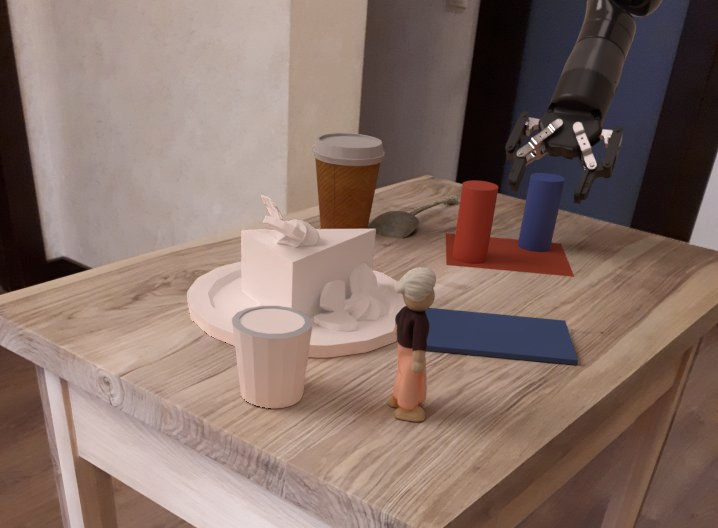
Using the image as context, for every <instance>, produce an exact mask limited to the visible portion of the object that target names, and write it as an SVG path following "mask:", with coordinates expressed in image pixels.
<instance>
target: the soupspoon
mask: <svg viewBox="0 0 718 528" xmlns="http://www.w3.org/2000/svg"><path fill="white" fill-rule="evenodd" d="M458 204H459V198H458V196H457V195H450V196H449V197H445V198H443V199H441V200H437V201H434V202H431V203H428V204H426V205H423V206H421V207H418V208H416V209H414V210H412V211H410V212H408V211H404V210H389V211H387V212H383V213H381V214H379V215H377V216H375V217H374V218H373V219H372V221H371V222H370V224H369V229H376V232H375V235H379V236H382V237H387V238H394V239H405V238H407V237H408V236H410V235H411V234H413V232H415V230H416V229H417V228H418V227H419V224H420V219H419V218H418V217H417V216H416V215H419V214H420V213H422V212H424V211H426V210H428V209H431V208H434V207H436V206H439V205H445V206H446V205H458Z"/></svg>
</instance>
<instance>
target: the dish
mask: <svg viewBox="0 0 718 528" xmlns="http://www.w3.org/2000/svg"><path fill="white" fill-rule="evenodd" d="M260 199H261V200H262V202H263V204H264V206H265V208H266V209H267V212H268V213H269V215H265V217H264V219H263V220H262V224H264V225H266V226H268V227H269V228H267V229H266V228H265V229H264V228H263V229H258V228H257V229H249V228H248V229H246V228H245V229H243V228H242V229H240V254H241V255H240V260H241V261H237V262H233V263H229V264H225V265H220V266H218V267H215V268H214V269H212V270H210V271H207V272H206V273H204V274H202V275H200V276H198V277H197V278H196V279H195V281H194V282H193V283H192V284H191V286H190V287H188V290H187V291H186V301H187V302H186V303H188V304H187V309H188V308H189V309H188V314H189V313H190V314H189V317H190V318H191V319H190V321H191V320H192V321H191V322H193V321H194V322H195V323H196V324H197V325H198V326H199V327H200V328H199V327H198V326H197V325H196V324H195V323H194V322H193V323H194V324H195V325H196V326H197V327H198V328H199V329H201V330H202V331H203V332H204V331H205V332H206V333H207V334H206V333H205V332H204V333H205V334H206V335H207V336H208V337H211V336H212V337H211V338H213V337H214V338H213V339H216V340H218V341H220V342H223V343H225V342H226V344H228V345H231V346H232V347H235V341H234V333H233V324H232V318H233V317H234V316H235V314H236V313H238V312H240V311H242V310H245V309H247V308H252V307H257V306H281V307H288V308H293V309H295V310H298V311H301V312H303V313H305V314H306V315H307V316H309V317H310V318H311V321H312V324H313V325H312V332H311V340H310V347H309V354H308V358H312V359H315V358H316V359H329V358H330V359H331V358H336V357H345V356H350V355H357V354H365V353H369V352H372V351H374V350H377V349H380V348H383V347H386V346H388V345H391V344H393V343H396V342H397V336H396V335H395V334H394V327H395V317H396V315H397V313H398V312H399V311H400V310H401V309H402V308H403V307H405V306H406V305H405V303H404V299H403V294H402V293H399V294H398V293H396V291H395V289H394V288H395V286H396V284H397V283H398V282H399V281H397V280H396V279H394V278H392V277H390V276H389V275H387V274H385V273H383V272H381V271H378V270H375V269H373V267H374V258H375V257H374V255H375V244H376V233H375V232H376V229H370V228H368V229H321V228H315V227H314V226H313V225H311V224H310V223H309V222H307V221H306V220H303V219H300V218H299V219H296V218H292V219H289V220H283V219H284V218H283V215H282V213H281V211H280V210H279V208H278V206H277V204H276V203H275V202H274V200H273V199H272V198H270V197H269V196H267V195H265V194H261V195H260Z"/></svg>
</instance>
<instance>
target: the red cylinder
mask: <svg viewBox="0 0 718 528" xmlns="http://www.w3.org/2000/svg"><path fill="white" fill-rule="evenodd" d="M498 193H499V185H497V184H496V183H493V182H490V181H485V180H467V181H463V182H462V184H461V192H460V198H459V199H460V200H459V206H458V213H457V220H456V227H455V233H454V234H455V241H454V248H453V255H452V256H453V258H454V259H456V260H458V261H461V262H465V263H482V262H484V261H486V259H487V253H488V247H489V241H490V237H491V235H492V228H493V222H494V217H495V212H496V211H495V210H496V205H497V198H498Z"/></svg>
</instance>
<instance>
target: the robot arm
mask: <svg viewBox="0 0 718 528" xmlns="http://www.w3.org/2000/svg"><path fill="white" fill-rule="evenodd" d="M663 1H664V0H586V6H585V14H584V19H583V22H582V26H581V28H580V31H579V34H578V36H577V39H576V40H575V43H574V46H573V48H572V50H571V53H570V54H569V56H568V58H567V60H566V62H565V64H564V66H563V69H562V72H561V74H560V76H559V79H558V81H557V84H556V87H555V89H554V91H553V94H552V96H551V98H550V102H549V105H548V106H547V109H546V112H545V113H544V115H543V116H541V118H537V117H532V116H530V113H529V112H528V111H521V113H519V116H518V118H517V119H516V122H515V125H514V127H513V129H512V131H511V133H510V135H509V137H508V139H507V141H506V143H505V148H504V149H505V154H506V159H507V161H508V162H513V163H512V166H511V169H510V171H509V174H508V176H507V178H508V185H509V187H510V189H511V191H512V192H515V193H516V192H518V191H519V189H520V186H521V183H522V181H523V178H524V176H525V174H526V170H527V166H528V165H530V164H531V163H533V162H534V161H539V160H541V159H542V158H544V157H545V156H547V155H548V154H549V157H554V158H558V157H561V158H564V159H566V160H572V161H573V160H574V159H575V158H578V161H579V164H580V166H581V168H582V169H583V170H582V172H581V175H580V178H579V180H578V183H577V186H576V188H575V190H574V194H573V203H574V204H577V205H580V204H581V202H582V201H586V200H587V199H588V197H589V194H590V193H591V189H592V187H593V184H594V182H595V180H596V179H598V178H603V179H610V178H611V177H612V176H613V173H614V170H615V166H616V163H617V160H618V157H619V153H620V150H621V148H622V147H621V146H622V144H623V132H624V130H623V127H622V126H621V125H617V126H615V127H613V129H607V128H606V129H605V128H603V125H604V122H605V120H606V117H607V114H608V111H609V109H610V106H611V104H612V101H613V99H614V96H615V95H616V93H617V90H618V88H619V87H618V86H619V83H620V81H621V77H622V72H623V69H624V65H625V62H626V60H627V57H628V54H629V52H630V49H631V46H632V44H633V41H634V39H635V36H636V31H637V25H636V20H635V18H644V17H648V16H649V15H652V14H653V13H654V12H655V11H656V10H658V8H659V7H660V5H661V4H662V3H663ZM634 17H635V18H634ZM536 130H538V133H536V134H535V135H534V136H533V137H531V138H530V140H529V141H528V142H527V143H526V144H524V145H523V143H524V141H525V139H526V137H530V136H531V134H532V133H533V132H534V131H536ZM600 141H603V146H604V148H605V149H606V151H605V154H604V157H603V161H600V162H597V160H596V158H595V155H594V152H593V147H594V146H595V145H597V144H598V143H600Z"/></svg>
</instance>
